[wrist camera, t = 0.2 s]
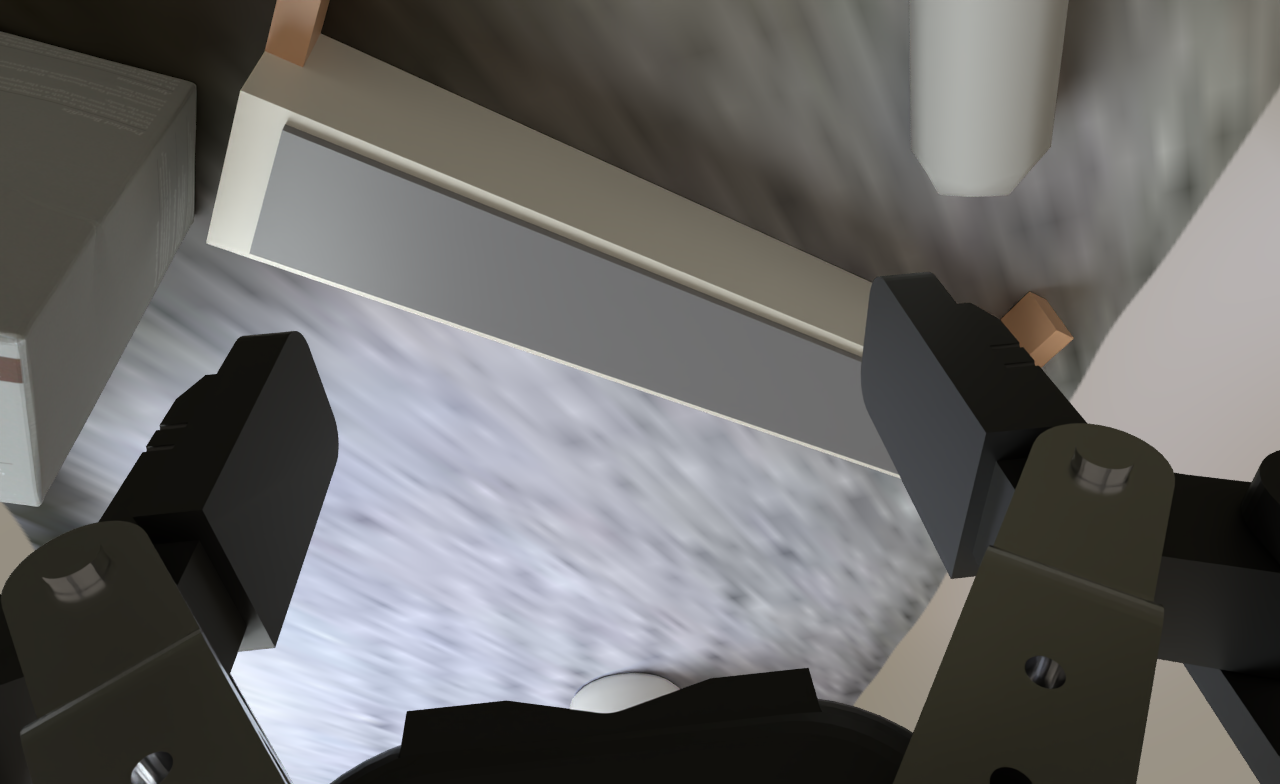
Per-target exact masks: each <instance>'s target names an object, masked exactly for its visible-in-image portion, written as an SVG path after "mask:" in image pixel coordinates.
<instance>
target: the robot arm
mask: <svg viewBox="0 0 1280 784" xmlns="http://www.w3.org/2000/svg"><path fill="white" fill-rule="evenodd" d="M861 388H862V395H863V400H864V403H865V406H866V409H867V411H868V414H869V416H870V418H871V420H872V422H873V424H874V426H875V428H876V430H877V432H878V434H879V436H880V438H881V440H882V442H883V444H884V446H885V448H886V450H887V452H888V454H889V456H890V458H891V460H892V462H893V464H894V466H895V468H896V470H897V472H898V474H899V476H900V478H901V480H902V482H903V484H904V486H905V488H906V490H907V492H908V494H909V496H910V498H911V500H912V502H913V504H914V506H915V508H916V510H917V512H918V514H919V516H920V518H921V520H922V522H923V524H924V526H925V528H926V530H927V532H928V534H929V536H930V538H931V540H932V542H933V544H934V546H935V548H936V550H937V552H938V554H939V556H940V558H941V560H942V562H943V564H944V566H945V568H946V570H947V572H948V574H949V576H950V578H951V579H954V578H963V577H973V576H976V577H975V580H974V582H973V585H972V587H971V590H970V592H969V595H968V597H967V600H966V602H965V605H964V607H963V610H962V612H961V615H960V617H959V620H958V622H957V625H956V627H955V630H954V632H953V635H952V638H951V640H950V642H949V645H948V647H947V650H946V652H945V655H944V657H943V660H942V662H941V665H940V667H939V670H938V672H937V675H936V677H935V680H934V682H933V685H932V687H931V690H930V692H929V695H928V697H927V700H926V702H925V705H924V707H923V710H922V712H921V715H920V717H919V720H918V722H917V725H916V727H915V730H914V732H913V733H912V732H911V731H909V730H908V729H906V728H904V727H902V726H900V725H898V724H896V723H894V722H892V721H890V720H888V719H886V718H884V717H882V716H880V715H877V714H874V713H872V712H869V711H866V710H863V709H861V708H858V707H854V706H850V705H846V704H842V703H838V702H834V701H829V700H822V699H817V696H816V692H815V689H814V685H813V682H812V678H811V675H810V671H809V668H803V669H794V670H784V671H775V672H766V673H757V674H748V675H738V676H729V677H720V678H711V679H708V680H705V681H702V682H700V683H697V684H694V685H691V686H688V687H686V688H683V689H680V690H677V691H674V692H672V693H669V694H666V695H663V696H660V697H658V698H655V699H652V700H649V701H646V702H644V703H641V704H638V705H635V706H632V707H630V708H627V709H624V710H621V711H617V712H613V713H597V712H589V711H581V710H574V709H566V708H559V707H551V706H544V705H536V704H528V703H521V702H513V701H498V702H489V703H480V704H471V705H461V706H452V707H443V708H434V709H424V710H415V711H407V714H406V720H405V726H404V732H403V738H402V744H401V745H400V746H397V747H395V748H392V749H389V750H387V751H385V752H383V753H381V754H379V755H376V756H374V757H372V758H370V759H368V760H366V761H364V762H362V763H361V764H359V765H357V766H356V767H354V768H353V769H351V770H349V771H348V772H346V773H344V774H343V775H341V776H340V777H338V778H337V779H336V780H334V781H333V782H332V783H330V784H1136V781H1137V775H1138V769H1139V763H1140V757H1141V752H1142V745H1143V740H1144V733H1145V727H1146V721H1147V716H1148V710H1149V704H1150V698H1151V692H1152V686H1153V680H1154V674H1155V667H1156V662H1157V659H1162V660H1168V661H1173V662H1179V663H1183V664H1184V666H1185V667H1186V669H1187V670H1188V672H1189V674H1190V675H1191V676H1192V678H1193V680H1194V681H1195V683H1196V684H1197V686H1198V687H1199V689H1200V691H1201V692H1202V694H1203V695H1204V697H1205V698H1206V700H1207V702H1208V703H1209V705H1210V706H1211V708H1212V709H1213V711H1214V712H1215V714H1216V716H1217V717H1218V718H1219V720H1220V722H1221V723H1222V725H1223V726H1224V728H1225V730H1226V731H1227V733H1228V734H1229V736H1230V737H1231V739H1232V740H1233V742H1234V744H1235V745H1236V746H1237V748H1238V750H1239V751H1240V753H1241V754H1242V756H1243V758H1244V759H1245V761H1246V762H1247V764H1248V765H1249V767H1250V769H1251V770H1252V772H1253V773H1254V775H1255V776H1256V778H1257V779H1258V781H1259V782H1260V784H1280V450H1279V451H1276V452H1274V453H1272V454H1270V455H1268V456H1267V457H1266V458H1265V459H1264V460H1263V461H1262V463H1261V465H1260V467H1259V469H1258V471H1257V473H1256V475H1255V477H1254V479H1253V481H1252V482H1244V481H1235V480H1227V479H1218V478H1210V477H1202V476H1193V475H1185V474H1179V473H1174V472H1173V469H1172V468H1171V466H1170V464H1169V463H1168V461H1167V460H1166V459H1165V458H1164V456H1163V455H1162V454H1161V453H1159V452H1158V451H1157V450H1156V449H1155V448H1154V447H1152V446H1150V445H1149V444H1148V443H1146V442H1145V441H1143V440H1141V439H1139V438H1137V437H1135V436H1133V435H1131V434H1128V433H1126V432H1124V431H1120V430H1117V429H1114V428H1111V427H1106V426H1101V425H1094V424H1087V423H1086V421H1085V420H1084V419H1083V418H1082V417H1081V415H1080V414H1079V413H1078V412H1077V411H1076V409H1075V408H1074V407H1073V406H1072V405H1071V403H1070V402H1069V401H1068V400H1067V399H1066V397H1065V396H1064V395H1063V394H1062V393H1061V391H1060V390H1059V389H1058V388H1057V387H1056V385H1055V384H1054V383H1053V382H1052V381H1051V380H1050V378H1049V377H1048V376H1047V375H1046V374H1045V372H1044V371H1043V370H1042V369H1041V368H1040V366H1039V365H1038V366H1035V360H1034V359H1033V358H1032V357H1031V356H1030V354H1029V353H1028V352H1027V351H1026V350H1025V349H1024V347H1020V346H1019V341H1018V340H1017V339H1016V338H1015V337H1014V335H1013V334H1012V333H1011V332H1010V331H1009V329H1008V328H1007V327H1006V326H1005V325H1004V323H1003V322H1002V321H1001V320H999V319H998V318H996V317H994V316H992V315H991V314H989V313H987V312H985V311H984V310H982V309H980V308H979V307H977V306H975V305H973V304H972V303H962V304H957V303H956V302H955V301H954V300H953V298H952V297H951V296H950V294H949V293H948V292H947V291H946V289H945V288H944V287H943V285H942V284H941V283H940V282H939V280H938V279H937V278H936V276H935V275H934V274H932V273H931V272H922V273H912V274H901V275H891V276H880V277H876V278H875V279H874V281H873V283H872V285H871V289H870V295H869V303H868V311H867V320H866V328H865V337H864V345H863V354H862V362H861ZM338 446H339V443H338V431H337V426H336V421H335V418H334V415H333V412H332V410H331V407H330V404H329V401H328V398H327V396H326V393H325V390H324V387H323V385H322V382H321V379H320V376H319V374H318V371H317V368H316V365H315V362H314V360H313V357H312V354H311V351H310V349H309V346H308V344H307V342H306V340H305V338H304V337H303V335H302V334H301V333H299V332H298V331H290V332H280V333H269V334H259V335H248V336H242V337H240V338H238V339H237V341H236V342H235V344H234V345H233V347H232V349H231V350H230V352H229V354H228V356H227V357H226V359H225V361H224V362H223V364H222V366H221V367H220V369H219V371H218V373H217V374H213V375H205V376H204V377H203V378H202V379H200V380H199V381H198V382H197V383H195V384H194V385H193V386H192V387H190V388H189V389H188V390H187V391H186V392H184V393H183V394H182V395H181V396H179V397H178V398H177V399H176V400H175V402H174V403H173V405H172V406H171V408H170V410H169V411H168V413H167V414H166V416H165V417H164V419H163V421H162V422H161V424H160V430H156V432H155V433H154V435H153V437H152V438H151V440H150V441H149V443H148V444H147V446H146V448H147V452H142V454H141V456H140V457H139V459H138V460H137V462H136V463H135V465H134V467H133V468H132V470H131V471H130V473H129V475H128V476H127V478H126V479H125V481H124V482H123V484H122V486H121V487H120V489H119V490H118V492H117V494H116V495H115V497H114V498H113V500H112V501H111V503H110V505H109V506H108V508H107V509H106V511H105V513H104V514H103V516H102V517H101V519H100V520H99V522H97V523H93V524H89V525H85V526H82V527H79V528H76V529H73V530H71V531H69V532H66V533H64V534H62V535H60V536H58V537H56V538H54V539H52V540H50V541H49V542H47V543H46V544H44V545H42V546H41V547H39V548H38V549H37V550H35V551H34V552H33V553H31V554H30V555H29V556H28V557H26V558H25V559H24V560H23V561H22V562H21V563H20V564H19V565H18V566H17V567H16V569H15V570H14V571H13V572H12V573H11V575H10V576H9V578H8V580H7V581H6V583H5V585H4V587H3V590H2V594H0V784H293V782H292V780H291V779H290V777H289V775H288V773H287V772H286V770H285V768H284V766H283V765H282V763H281V761H280V759H279V758H278V756H277V754H276V752H275V751H274V749H273V747H272V745H271V744H270V742H269V740H268V738H267V737H266V735H265V733H264V731H263V730H262V728H261V726H260V724H259V723H258V721H257V719H256V717H255V715H254V714H253V712H252V710H251V708H250V707H249V705H248V703H247V701H246V700H245V698H244V696H243V694H242V693H241V691H240V689H239V687H238V686H237V684H236V682H235V681H234V679H233V677H232V676H231V674H230V672H231V669H232V666H233V664H234V661H235V658H236V656H237V653H238V652H240V651H250V650H259V649H269V648H275V646H276V643H277V640H278V637H279V634H280V631H281V628H282V625H283V622H284V619H285V616H286V613H287V610H288V607H289V604H290V601H291V598H292V595H293V592H294V589H295V586H296V583H297V580H298V577H299V574H300V571H301V568H302V565H303V562H304V559H305V556H306V553H307V550H308V547H309V544H310V541H311V538H312V535H313V532H314V529H315V526H316V523H317V520H318V517H319V514H320V511H321V508H322V505H323V502H324V499H325V496H326V493H327V490H328V487H329V484H330V481H331V478H332V475H333V472H334V469H335V466H336V462H337V458H338Z"/></svg>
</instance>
